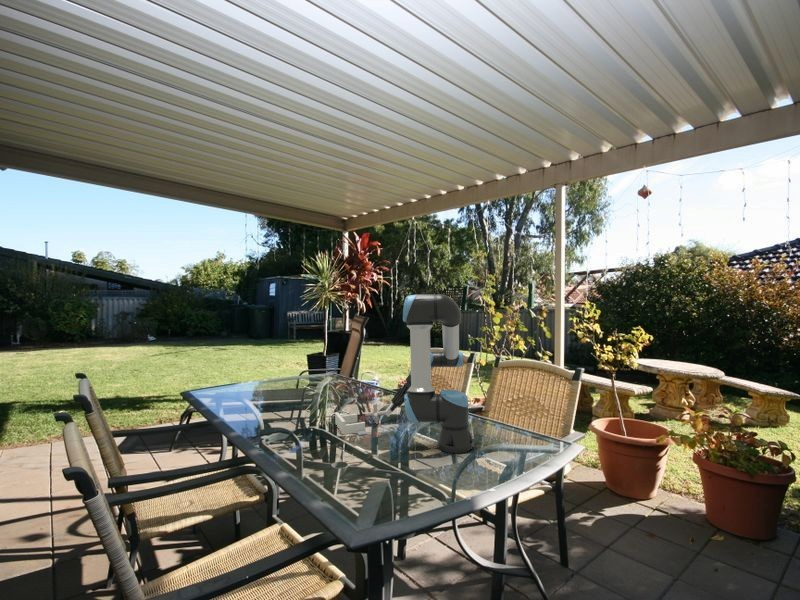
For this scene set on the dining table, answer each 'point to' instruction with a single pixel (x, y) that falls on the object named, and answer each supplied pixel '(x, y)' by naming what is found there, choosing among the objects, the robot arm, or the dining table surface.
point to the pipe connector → (375, 413)
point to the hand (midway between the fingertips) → (386, 415)
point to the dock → (349, 428)
